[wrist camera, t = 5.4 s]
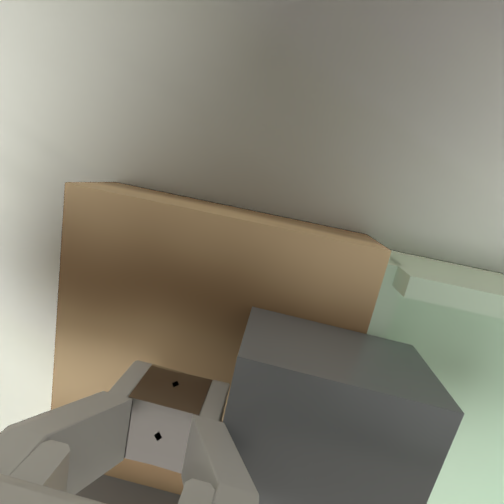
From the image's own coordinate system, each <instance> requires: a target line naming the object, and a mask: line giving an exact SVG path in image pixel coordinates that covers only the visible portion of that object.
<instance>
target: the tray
mask: <svg viewBox="0 0 504 504" xmlns="http://www.w3.org/2000/svg"><path fill="white" fill-rule="evenodd" d="M367 334H368V335H373V336H377V337H381V338H385V339H389V340H393V341H397V342H402V343H406V344H410V345H413V346H414V348H415V349H416V350H417V351H418V353H419V354H420V355H421V357H422V358H423V359H424V361H425V362H426V363H427V365H428V366H429V367H430V369H431V370H432V371H433V373H434V374H435V375H436V377H437V378H438V379H439V381H440V382H441V383H442V385H443V386H444V387H445V388H446V390H447V391H448V392H449V394H450V395H451V396H452V398H453V399H454V400H455V402H456V403H457V404H458V406H459V407H460V408H461V410H462V411H463V412H464V416H463V419H462V421H461V423H460V426H459V428H458V430H457V433H456V435H455V437H454V440H453V442H452V445H451V447H450V449H449V452H448V454H447V456H446V459H445V461H444V464H443V466H442V468H441V471H440V473H439V475H438V478H437V480H436V482H435V485H434V487H433V490H432V492H431V494H430V497H429V499H428V501H427V504H504V274H501V273H497V272H492V271H487V270H482V269H478V268H473V267H468V266H463V265H459V264H454V263H449V262H444V261H440V260H435V259H430V258H425V257H420V256H416V255H411V254H406V253H401V252H397V251H392V250H391V255H390V258H389V261H388V265H387V268H386V271H385V275H384V278H383V281H382V284H381V288H380V291H379V294H378V298H377V301H376V304H375V308H374V311H373V314H372V318H371V321H370V324H369V327H368V331H367Z"/></svg>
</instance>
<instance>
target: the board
mask: <svg viewBox="0 0 504 504" xmlns="http://www.w3.org/2000/svg"><path fill="white" fill-rule="evenodd" d="M390 255H391V250H389V249H388V248H386V247H385V246H383V245H382V244H380V243H379V242H377V241H376V240H374V239H373V238H371V237H370V236H368V235H367V234H362V233H357V232H352V231H348V230H343V229H338V228H333V227H328V226H324V225H319V224H314V223H309V222H304V221H300V220H295V219H290V218H285V217H280V216H276V215H271V214H266V213H261V212H256V211H251V210H247V209H242V208H237V207H232V206H227V205H223V204H218V203H213V202H208V201H203V200H199V199H194V198H189V197H184V196H179V195H175V194H170V193H165V192H160V191H155V190H150V189H146V188H141V187H136V186H131V185H126V184H122V183H117V182H65V191H64V207H63V224H62V240H61V256H60V272H59V289H58V305H57V321H56V337H55V354H54V370H53V386H52V402H51V410H53V409H55V408H58V407H61V406H63V405H66V404H69V403H72V402H74V401H77V400H80V399H82V398H85V397H88V396H91V395H93V394H96V393H99V392H101V391H105V392H108V391H109V390H110V389H111V388H112V387H113V386H114V384H115V383H116V382H117V381H118V380H119V379H120V378H121V376H122V375H123V374H124V373H125V372H126V371H127V369H128V368H129V367H130V366H131V365H132V364H133V362H135V361H137V360H139V361H143V362H147V363H151V364H155V365H158V366H162V367H166V368H169V369H173V370H176V371H180V372H184V373H186V374H190V375H194V376H198V377H203V378H207V379H211V380H217V381H222V382H226V383H229V384H230V386H229V391H228V395H227V400H226V404H225V409H224V413H223V418H222V422H223V419H224V414H225V410H226V405H227V401H228V396H229V392H230V387H231V383H232V378H233V374H234V369H235V365H236V360H237V356H238V352H239V349H240V346H241V342H242V339H243V336H244V332H245V329H246V325H247V322H248V319H249V315H250V312H251V309H252V306H253V307H257V308H261V309H265V310H269V311H273V312H277V313H282V314H286V315H290V316H294V317H298V318H302V319H306V320H311V321H315V322H319V323H323V324H327V325H331V326H335V327H339V328H344V329H348V330H352V331H356V332H360V333H364V334H367V331H368V327H369V324H370V321H371V318H372V314H373V311H374V308H375V304H376V301H377V298H378V294H379V291H380V288H381V284H382V281H383V278H384V275H385V271H386V268H387V265H388V261H389V258H390ZM104 475H107V476H111V477H115V478H119V479H122V480H126V481H130V482H134V483H138V484H141V485H145V486H149V487H153V488H156V489H160V490H164V491H168V492H172V493H175V494H179V495H181V493H182V490H183V488H184V487H183V482H182V477H181V474H180V473H177V472H174V471H171V470H167V469H164V468H161V467H158V466H154V465H151V464H147V463H142V462H138V461H134V460H130V459H126V458H124V460H123V461H122V462H120V463H119V464H117V465H116V466H114V467H113V468H112V469H110V470H109V471H107V472H106V473H105V474H104Z"/></svg>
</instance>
